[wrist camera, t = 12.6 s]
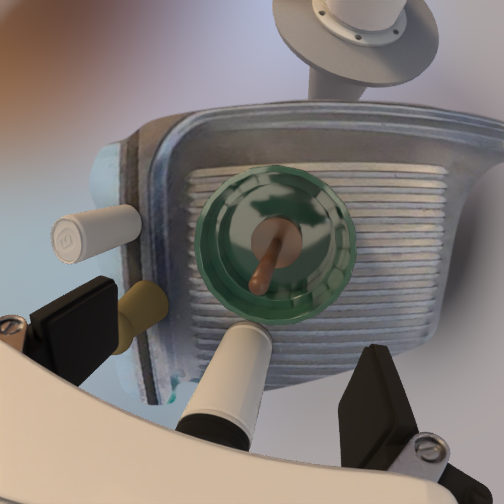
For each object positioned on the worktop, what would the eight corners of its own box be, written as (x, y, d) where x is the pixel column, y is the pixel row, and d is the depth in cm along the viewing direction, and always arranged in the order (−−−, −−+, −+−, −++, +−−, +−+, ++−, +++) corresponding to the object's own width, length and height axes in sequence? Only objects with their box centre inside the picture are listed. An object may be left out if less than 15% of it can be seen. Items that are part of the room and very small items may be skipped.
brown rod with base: (259, 210, 32) (220, 235, 17) (307, 220, 31) (311, 255, 16) (250, 256, 33) (208, 316, 18) (296, 267, 32) (290, 336, 17)
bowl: (224, 158, 32) (208, 153, 26) (360, 186, 30) (372, 187, 24) (204, 285, 36) (186, 304, 30) (327, 313, 34) (331, 338, 28)
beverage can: (149, 232, 35) (89, 255, 24) (122, 246, 36) (61, 272, 25) (134, 197, 35) (70, 207, 23) (108, 213, 36) (44, 228, 24)
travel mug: (213, 343, 37) (148, 457, 18) (245, 311, 36) (188, 430, 16) (249, 371, 37) (209, 494, 18) (283, 342, 36) (260, 473, 16)
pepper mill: (144, 271, 37) (93, 301, 26) (177, 304, 37) (135, 345, 26) (123, 299, 38) (74, 332, 28) (153, 329, 39) (111, 372, 28)
